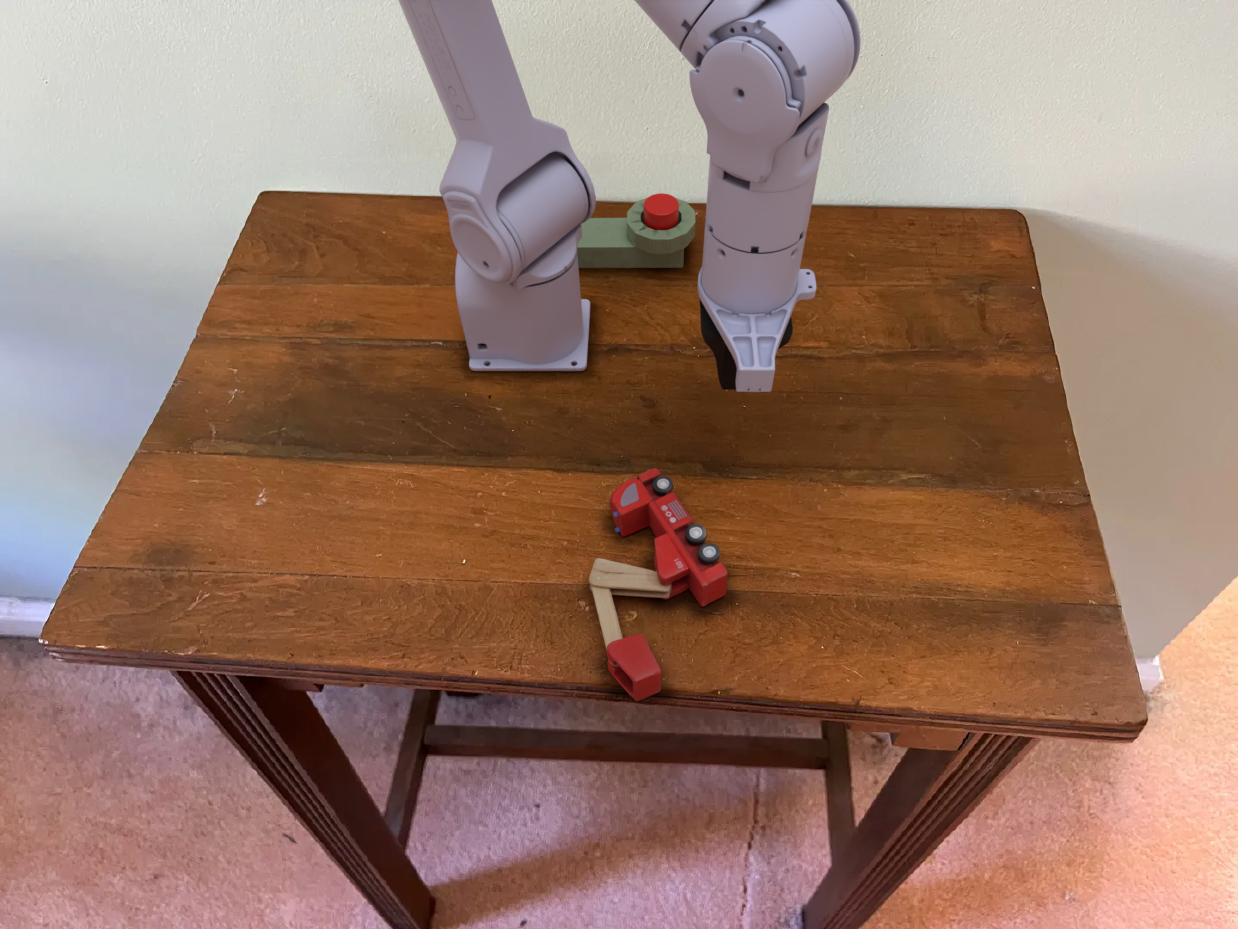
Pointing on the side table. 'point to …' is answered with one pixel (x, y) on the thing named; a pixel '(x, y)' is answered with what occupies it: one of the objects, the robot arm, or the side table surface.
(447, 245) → the side table surface
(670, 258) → the button box
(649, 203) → the button
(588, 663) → the side table surface
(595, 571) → the toy fire truck
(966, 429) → the side table surface
